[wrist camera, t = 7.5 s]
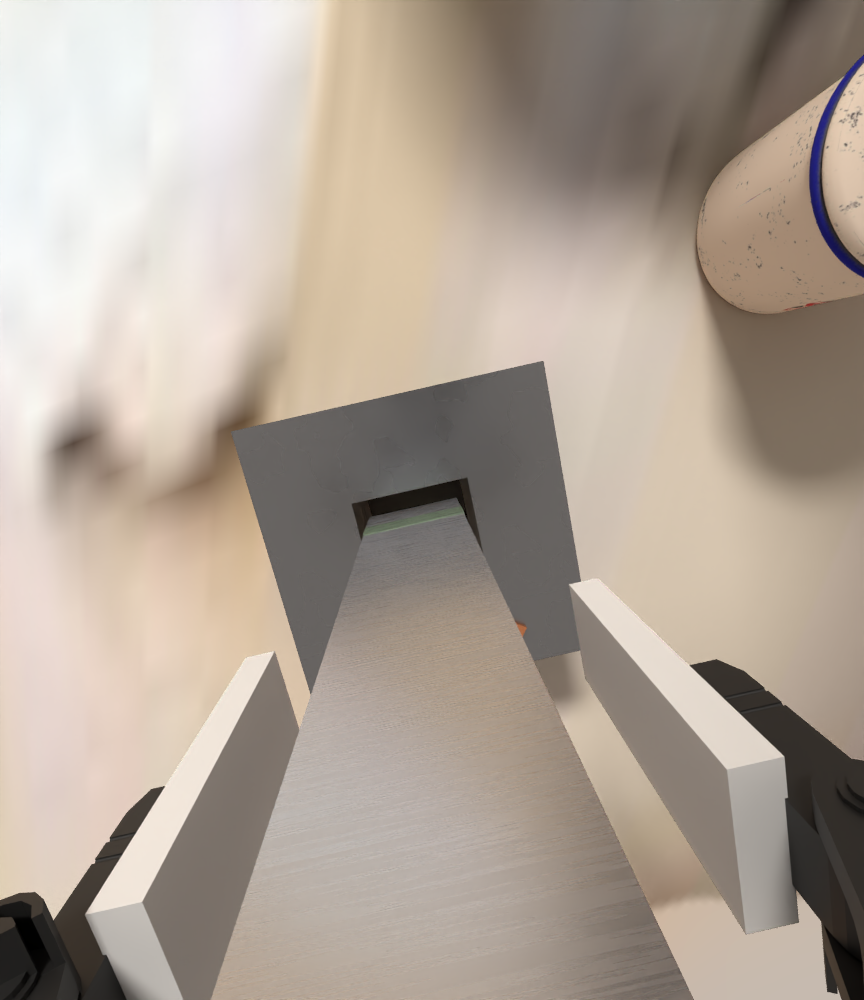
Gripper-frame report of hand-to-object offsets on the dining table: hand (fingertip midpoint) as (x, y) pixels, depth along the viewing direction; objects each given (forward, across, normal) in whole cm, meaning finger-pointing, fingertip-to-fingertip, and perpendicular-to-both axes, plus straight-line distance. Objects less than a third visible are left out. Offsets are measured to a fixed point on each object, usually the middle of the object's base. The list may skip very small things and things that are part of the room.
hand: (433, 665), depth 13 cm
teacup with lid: (+17, +23, +12) cm, 31 cm away
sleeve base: (+17, 0, 0) cm, 17 cm away
